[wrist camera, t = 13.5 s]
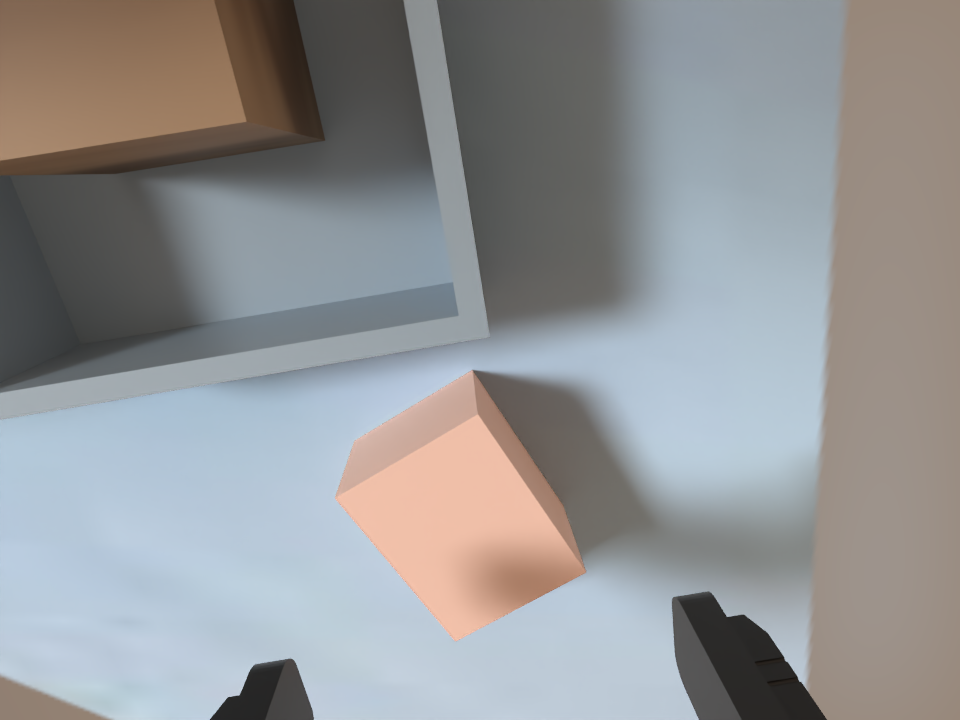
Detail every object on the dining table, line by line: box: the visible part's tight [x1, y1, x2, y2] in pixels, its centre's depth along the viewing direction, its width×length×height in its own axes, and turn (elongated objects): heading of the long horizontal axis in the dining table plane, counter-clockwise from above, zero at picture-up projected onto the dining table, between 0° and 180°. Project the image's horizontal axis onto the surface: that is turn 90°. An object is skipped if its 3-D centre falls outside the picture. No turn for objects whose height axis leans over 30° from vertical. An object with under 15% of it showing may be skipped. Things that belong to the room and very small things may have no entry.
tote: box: [0, 0, 490, 420], centre depth 12 cm, size 12×15×4 cm
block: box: [0, 0, 325, 176], centre depth 11 cm, size 6×6×6 cm
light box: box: [335, 370, 586, 641], centre depth 17 cm, size 4×6×4 cm
